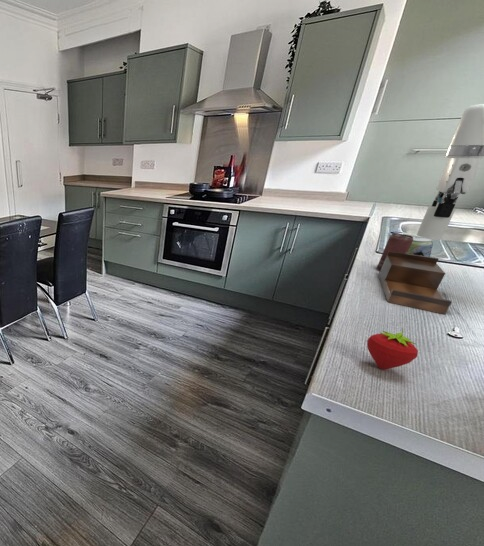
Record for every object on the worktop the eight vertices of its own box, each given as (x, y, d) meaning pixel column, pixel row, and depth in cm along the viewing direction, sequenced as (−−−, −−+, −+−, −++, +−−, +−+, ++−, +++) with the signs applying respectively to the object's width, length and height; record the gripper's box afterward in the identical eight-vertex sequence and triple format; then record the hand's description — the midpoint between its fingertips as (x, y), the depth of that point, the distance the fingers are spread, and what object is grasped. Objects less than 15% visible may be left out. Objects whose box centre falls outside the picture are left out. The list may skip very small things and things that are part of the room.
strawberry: (359, 354, 71) (376, 316, 67) (405, 369, 66) (426, 330, 62) (357, 366, 67) (374, 327, 63) (406, 384, 62) (428, 342, 58)
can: (384, 267, 121) (399, 232, 115) (402, 273, 115) (419, 237, 109) (371, 268, 120) (385, 233, 114) (389, 274, 114) (405, 238, 108)
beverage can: (429, 273, 115) (444, 242, 111) (404, 270, 118) (417, 240, 113) (419, 267, 121) (433, 237, 116) (395, 264, 123) (408, 235, 119)
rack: (425, 284, 106) (437, 258, 103) (445, 314, 87) (461, 284, 84) (378, 275, 113) (388, 250, 109) (387, 302, 94) (400, 273, 90)
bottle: (439, 236, 99) (457, 197, 94) (444, 239, 94) (462, 200, 90) (414, 233, 102) (430, 196, 97) (418, 236, 98) (434, 198, 93)
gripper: (498, 153, 80) (465, 221, 87) (476, 152, 93) (448, 212, 100) (455, 153, 85) (427, 218, 91) (439, 152, 97) (415, 209, 104)
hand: (438, 214), depth 95 cm, fingers closed on bottle, 5 cm apart
